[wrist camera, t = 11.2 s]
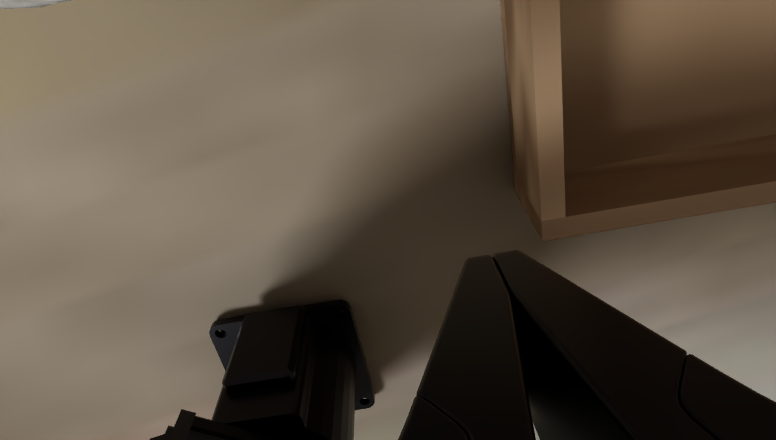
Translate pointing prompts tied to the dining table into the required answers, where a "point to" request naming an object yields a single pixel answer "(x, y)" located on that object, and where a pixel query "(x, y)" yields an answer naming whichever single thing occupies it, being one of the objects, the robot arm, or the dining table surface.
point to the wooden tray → (639, 109)
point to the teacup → (27, 3)
